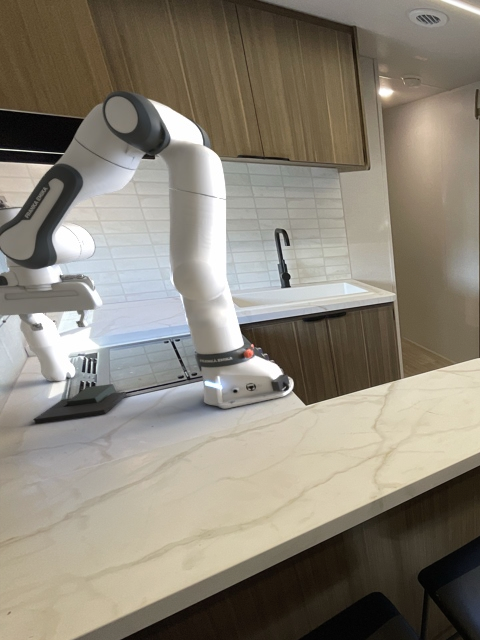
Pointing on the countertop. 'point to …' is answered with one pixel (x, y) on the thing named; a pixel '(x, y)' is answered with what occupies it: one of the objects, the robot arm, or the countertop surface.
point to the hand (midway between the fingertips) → (61, 328)
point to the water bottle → (48, 349)
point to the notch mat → (79, 409)
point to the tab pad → (92, 395)
